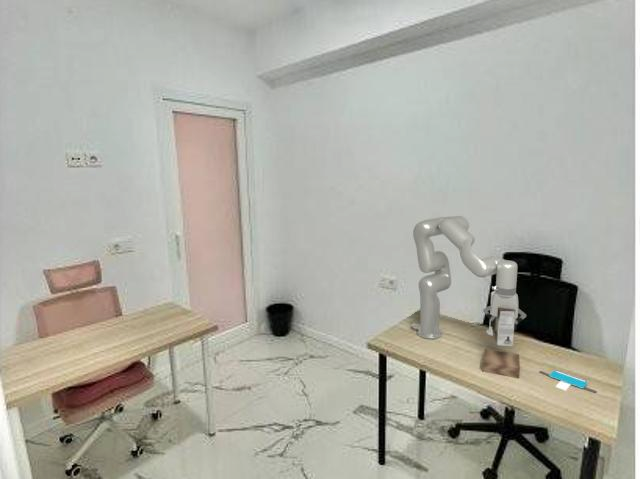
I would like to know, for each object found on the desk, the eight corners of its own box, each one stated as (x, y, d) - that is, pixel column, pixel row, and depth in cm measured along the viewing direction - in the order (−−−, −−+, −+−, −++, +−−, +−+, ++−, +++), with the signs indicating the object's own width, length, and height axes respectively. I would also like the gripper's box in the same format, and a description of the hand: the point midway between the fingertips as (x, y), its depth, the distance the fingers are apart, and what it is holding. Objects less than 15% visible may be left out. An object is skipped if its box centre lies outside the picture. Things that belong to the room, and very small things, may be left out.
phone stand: (533, 379, 158) (533, 375, 158) (544, 368, 166) (544, 364, 165) (590, 401, 143) (591, 397, 143) (600, 387, 151) (600, 384, 150)
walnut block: (482, 372, 164) (482, 361, 163) (483, 358, 175) (484, 348, 174) (518, 379, 158) (519, 368, 157) (518, 364, 169) (519, 354, 168)
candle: (484, 333, 197) (486, 287, 191) (489, 328, 202) (491, 283, 196) (498, 337, 192) (501, 290, 187) (503, 332, 197) (506, 286, 192)
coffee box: (492, 335, 169) (494, 301, 165) (507, 336, 167) (510, 301, 164) (497, 345, 160) (499, 309, 156) (513, 346, 159) (516, 310, 155)
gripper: (482, 291, 159) (480, 330, 163) (529, 296, 152) (526, 337, 155) (483, 285, 166) (481, 323, 170) (529, 289, 158) (526, 329, 162)
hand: (503, 329), depth 163 cm, fingers closed on coffee box, 7 cm apart
